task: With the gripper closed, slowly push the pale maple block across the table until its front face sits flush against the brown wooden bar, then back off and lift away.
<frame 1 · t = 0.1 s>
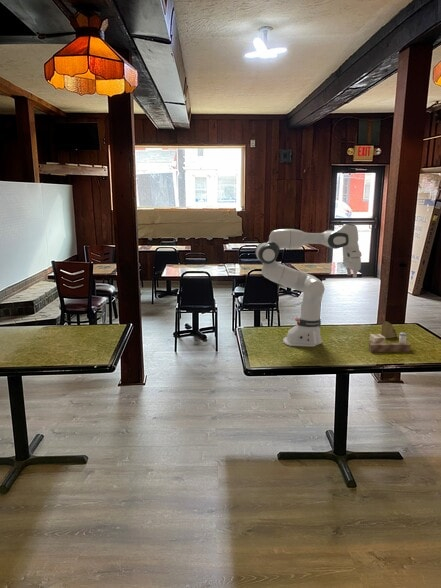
hand: (351, 276, 248), 39 cm above the table, tool pointing down, fingers open, 8 cm apart
rock: (388, 337, 262), on the table
maple block: (377, 344, 250), on the table
brown wooden bar: (389, 350, 238), on the table
salt shaker: (402, 346, 245), on the table
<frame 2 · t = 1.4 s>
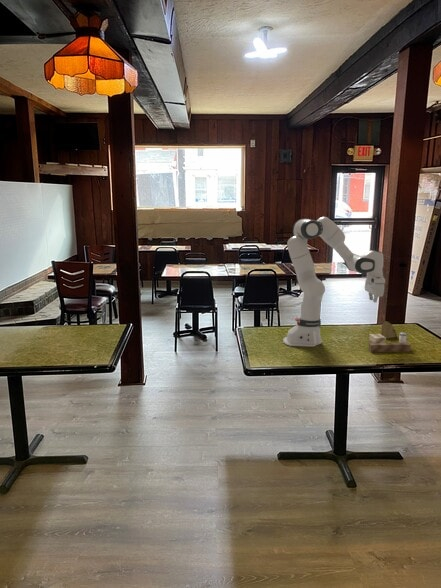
hand: (372, 301, 255), 23 cm above the table, tool pointing down, fingers open, 5 cm apart
nothing on the table moved.
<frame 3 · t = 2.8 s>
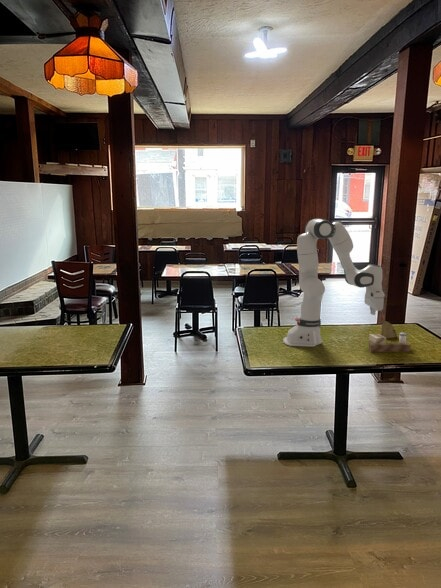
hand: (372, 314, 257), 15 cm above the table, tool pointing down, fingers closed
nothing on the table moved.
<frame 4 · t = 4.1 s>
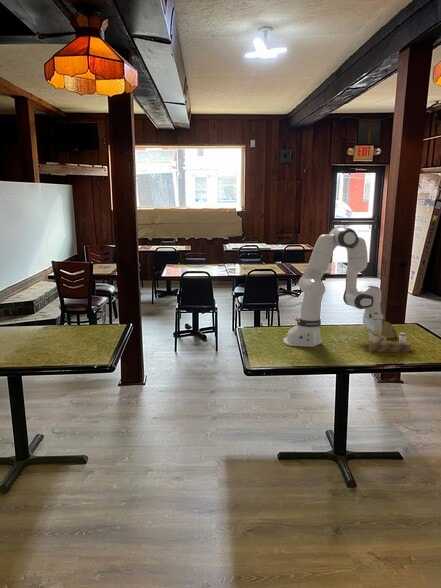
hand: (370, 335, 259), 2 cm above the table, tool pointing down, fingers closed
nothing on the table moved.
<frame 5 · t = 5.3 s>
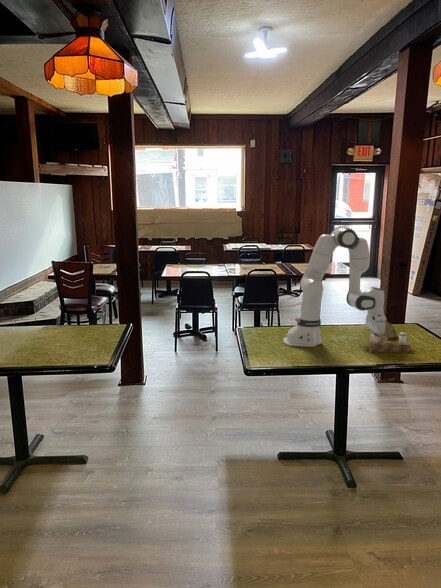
hand: (373, 337, 255), 2 cm above the table, tool pointing down, fingers closed
maple block: (377, 344, 249), on the table, touching gripper
everything else where it was.
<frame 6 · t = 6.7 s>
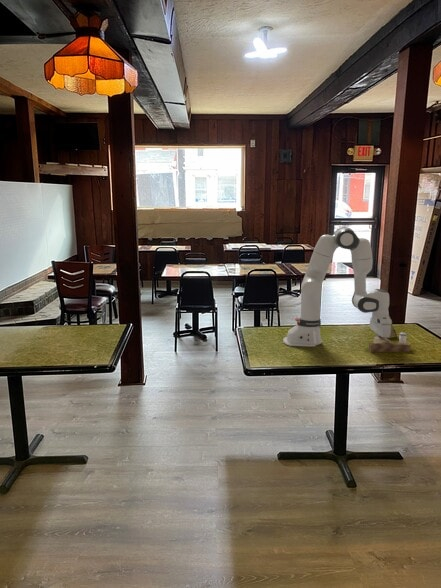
hand: (378, 340, 249), 2 cm above the table, tool pointing down, fingers closed
maple block: (381, 347, 244), on the table, touching brown wooden bar, gripper
everything else where it was.
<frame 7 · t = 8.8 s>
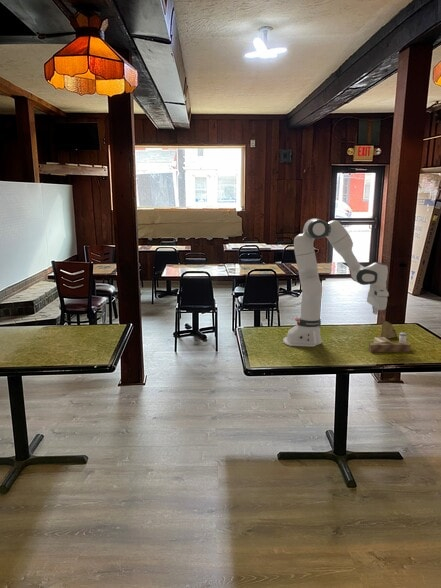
hand: (374, 313, 251), 17 cm above the table, tool pointing down, fingers closed
maple block: (381, 347, 244), on the table
everything else where it was.
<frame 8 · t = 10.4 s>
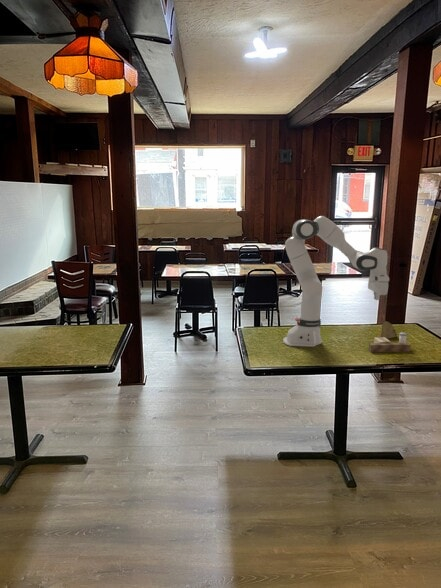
hand: (376, 299, 250), 25 cm above the table, tool pointing down, fingers closed
nothing on the table moved.
at the end: maple block inside the target area on the table beside the brown wooden bar (2.0 cm from its centre), on the table; maple block tilted 0° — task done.
